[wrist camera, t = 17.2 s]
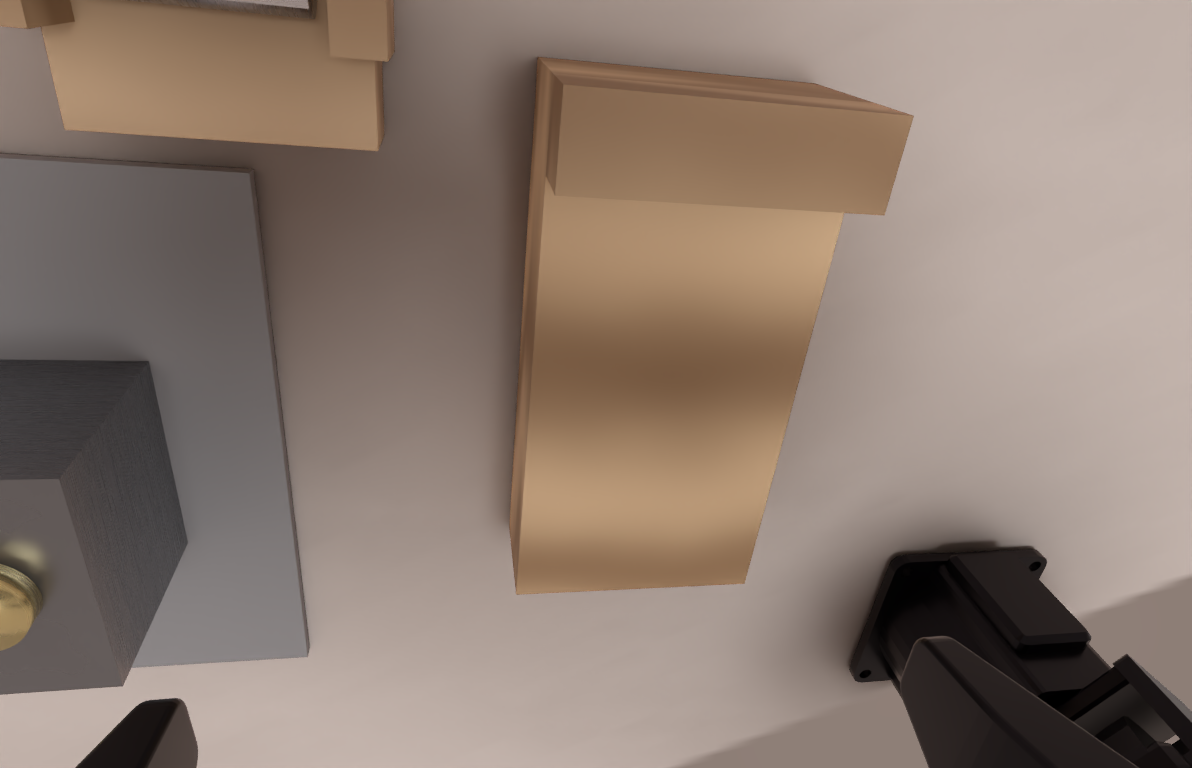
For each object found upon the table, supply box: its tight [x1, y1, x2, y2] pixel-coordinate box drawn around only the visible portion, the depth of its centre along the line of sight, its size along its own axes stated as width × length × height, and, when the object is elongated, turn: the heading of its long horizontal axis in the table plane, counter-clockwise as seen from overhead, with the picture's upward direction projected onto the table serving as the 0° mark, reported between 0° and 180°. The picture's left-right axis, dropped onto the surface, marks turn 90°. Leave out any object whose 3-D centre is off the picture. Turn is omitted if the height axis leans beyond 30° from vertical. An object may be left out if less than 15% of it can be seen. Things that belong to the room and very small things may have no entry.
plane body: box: [509, 57, 914, 595], centre depth 19 cm, size 14×7×5 cm, turn 174°
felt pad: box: [0, 153, 310, 668], centre depth 20 cm, size 16×10×1 cm, turn 174°
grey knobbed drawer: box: [0, 359, 188, 695], centre depth 17 cm, size 6×4×6 cm, turn 174°
